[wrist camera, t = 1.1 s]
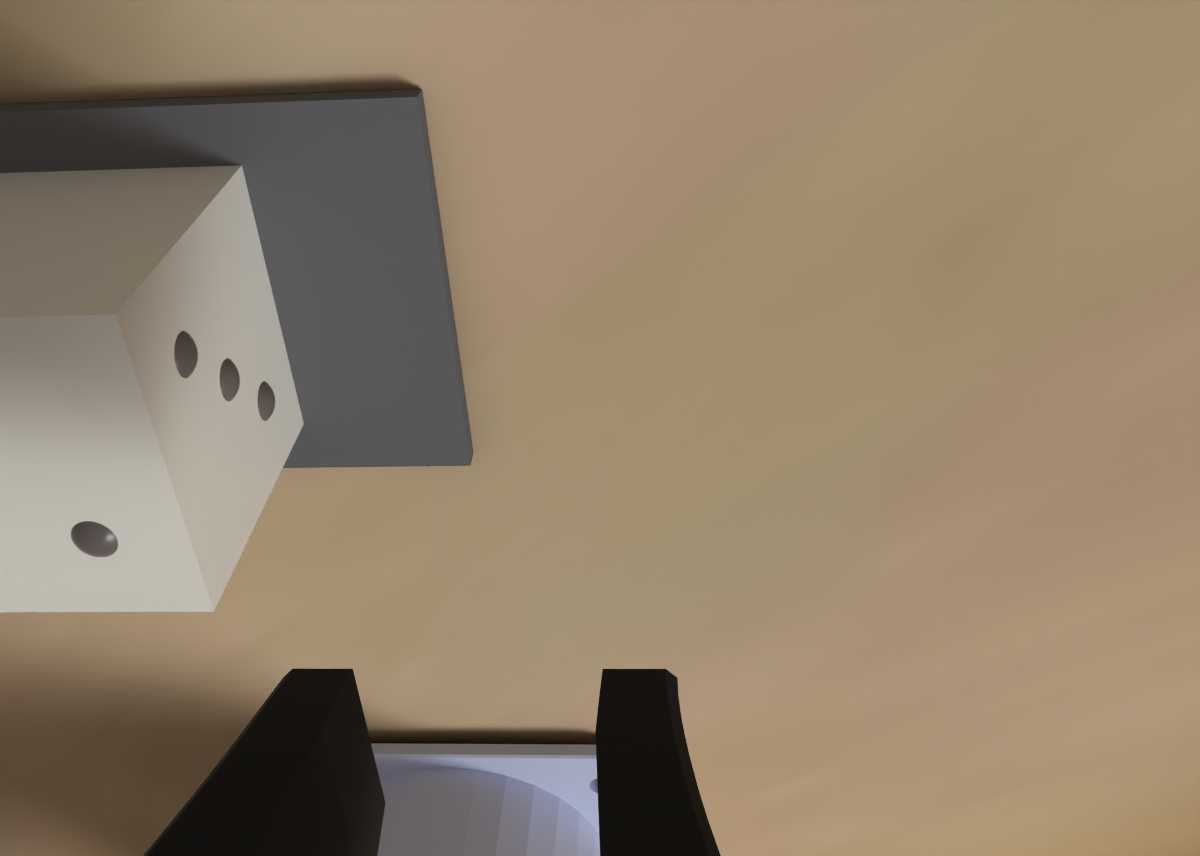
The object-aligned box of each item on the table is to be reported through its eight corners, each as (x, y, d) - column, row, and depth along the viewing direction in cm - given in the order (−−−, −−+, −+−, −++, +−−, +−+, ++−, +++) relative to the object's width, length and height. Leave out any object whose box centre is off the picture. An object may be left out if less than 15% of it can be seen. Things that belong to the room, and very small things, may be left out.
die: (313, 430, 21) (222, 626, 17) (39, 434, 21) (-118, 626, 17) (250, 164, 18) (122, 320, 14) (-65, 175, 19) (-284, 329, 14)
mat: (473, 453, 22) (470, 465, 21) (-172, 461, 23) (-184, 473, 22) (421, 88, 18) (417, 97, 17) (-356, 117, 19) (-374, 125, 18)
